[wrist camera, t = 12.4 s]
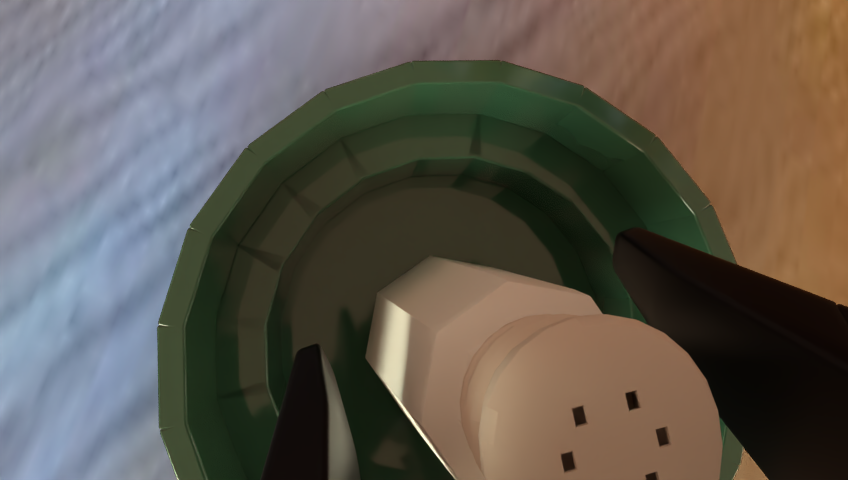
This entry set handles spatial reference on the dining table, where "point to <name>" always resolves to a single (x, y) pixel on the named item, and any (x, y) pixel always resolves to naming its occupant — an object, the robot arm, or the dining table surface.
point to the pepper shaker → (538, 380)
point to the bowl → (398, 244)
